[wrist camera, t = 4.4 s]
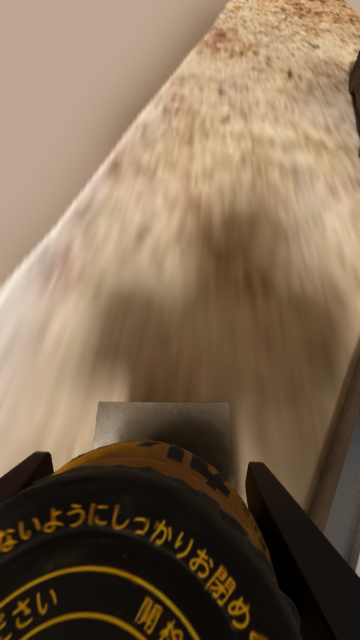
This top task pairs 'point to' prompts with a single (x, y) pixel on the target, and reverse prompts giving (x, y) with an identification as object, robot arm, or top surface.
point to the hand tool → (356, 82)
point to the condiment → (141, 538)
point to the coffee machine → (342, 482)
